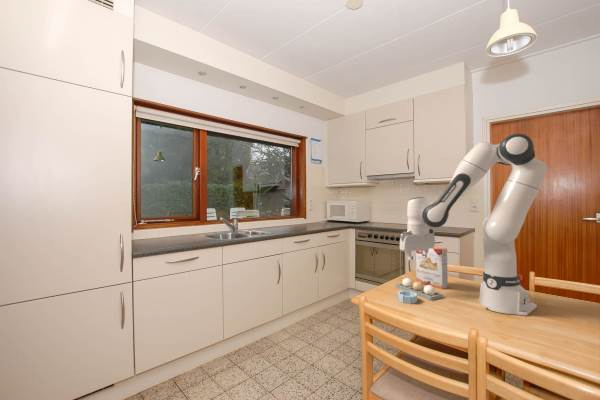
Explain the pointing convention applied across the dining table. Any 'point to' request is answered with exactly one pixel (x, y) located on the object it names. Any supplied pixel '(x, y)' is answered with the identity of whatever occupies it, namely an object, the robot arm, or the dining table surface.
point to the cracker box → (432, 267)
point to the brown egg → (418, 286)
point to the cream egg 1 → (407, 282)
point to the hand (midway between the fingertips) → (417, 258)
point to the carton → (421, 293)
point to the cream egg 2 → (429, 290)
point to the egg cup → (407, 297)
